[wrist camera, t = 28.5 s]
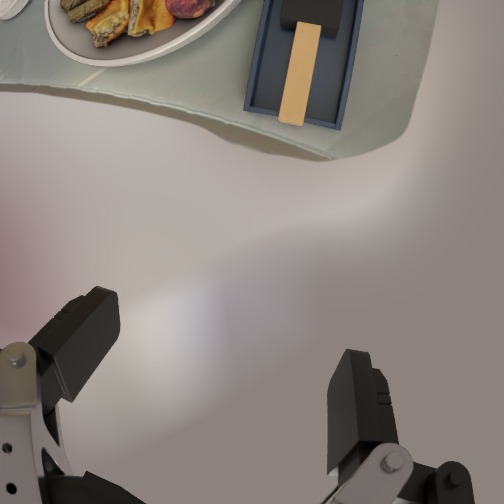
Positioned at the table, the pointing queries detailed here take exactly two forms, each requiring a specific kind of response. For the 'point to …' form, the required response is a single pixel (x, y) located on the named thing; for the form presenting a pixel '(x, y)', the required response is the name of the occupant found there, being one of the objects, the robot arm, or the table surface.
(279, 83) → the tray
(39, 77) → the table surface
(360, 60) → the table surface
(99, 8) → the bowl
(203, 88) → the table surface
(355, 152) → the table surface
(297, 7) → the mallet
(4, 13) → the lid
